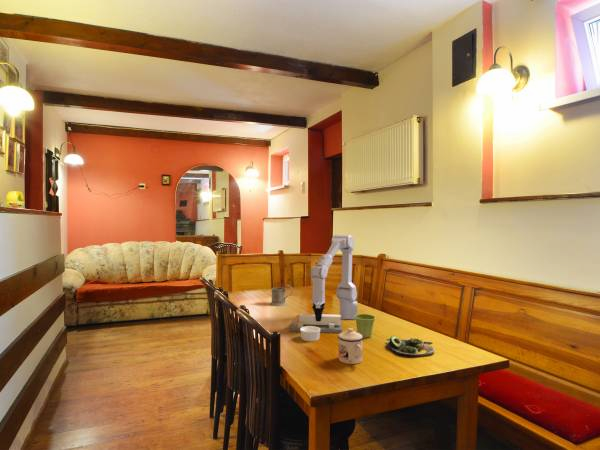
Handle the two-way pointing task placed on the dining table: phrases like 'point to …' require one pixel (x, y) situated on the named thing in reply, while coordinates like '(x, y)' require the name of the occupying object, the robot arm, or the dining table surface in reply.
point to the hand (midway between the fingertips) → (318, 319)
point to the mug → (279, 296)
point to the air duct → (312, 321)
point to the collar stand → (323, 328)
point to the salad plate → (408, 346)
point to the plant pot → (364, 324)
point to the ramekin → (310, 333)
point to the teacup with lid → (350, 347)
